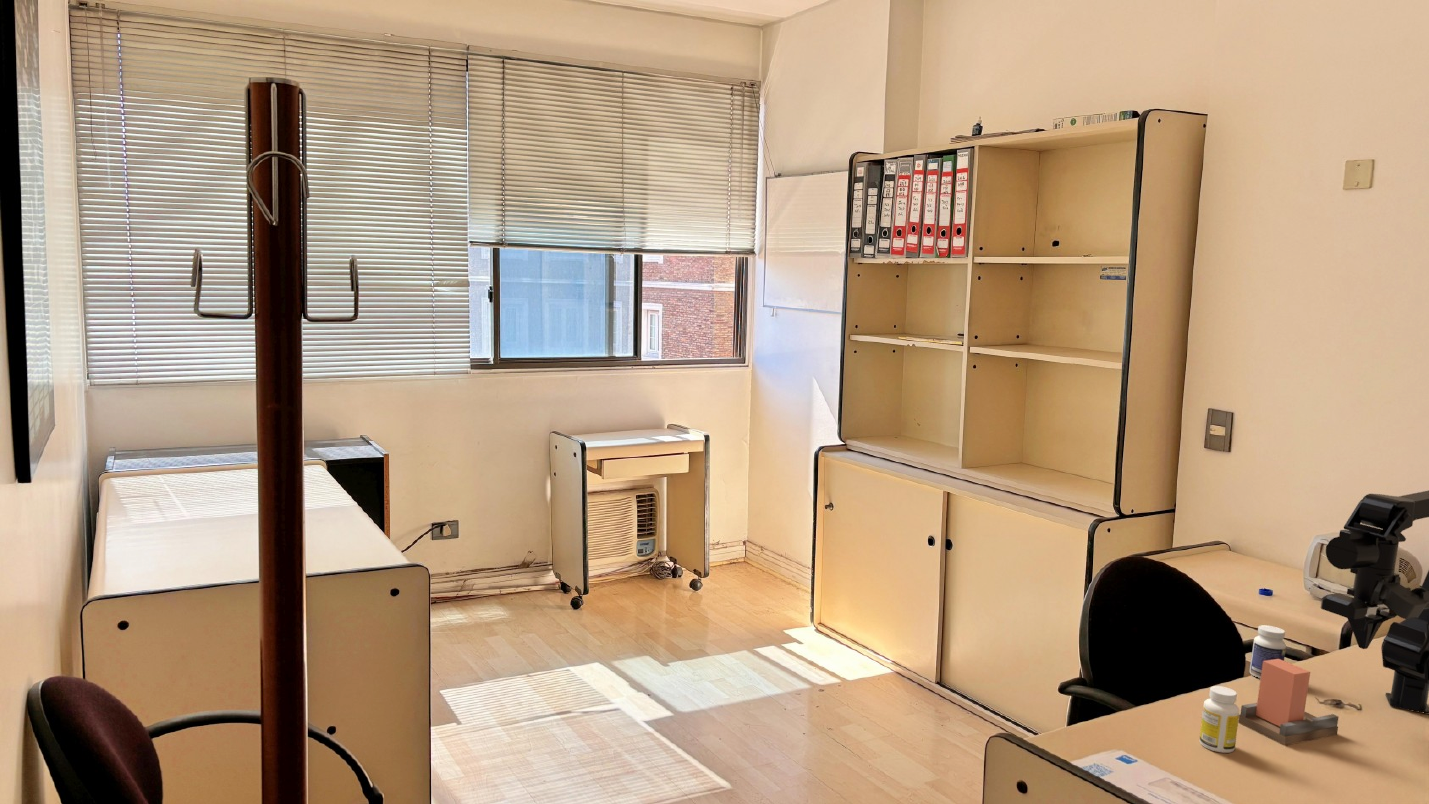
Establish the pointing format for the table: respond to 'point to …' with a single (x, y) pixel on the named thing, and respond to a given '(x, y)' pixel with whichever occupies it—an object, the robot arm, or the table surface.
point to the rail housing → (1289, 726)
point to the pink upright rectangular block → (1282, 692)
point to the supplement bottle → (1220, 720)
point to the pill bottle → (1267, 648)
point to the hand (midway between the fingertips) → (1362, 648)
